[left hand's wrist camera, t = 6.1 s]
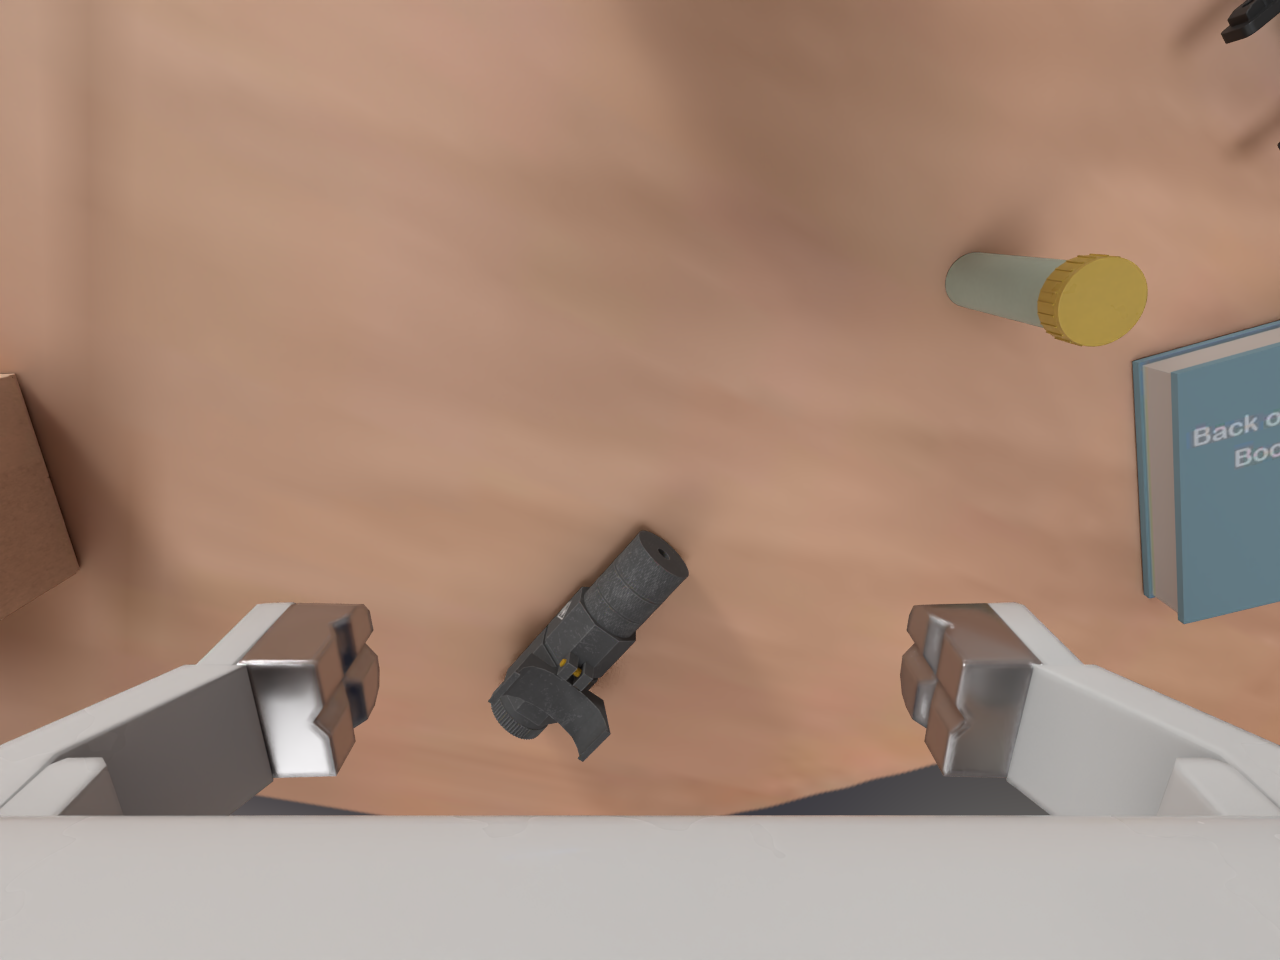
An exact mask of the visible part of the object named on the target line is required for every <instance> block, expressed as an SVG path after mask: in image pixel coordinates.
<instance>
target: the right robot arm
mask: <svg viewBox="0 0 1280 960" xmlns="http://www.w3.org/2000/svg"><path fill="white" fill-rule="evenodd" d="M1279 13H1280V0H1246V1H1245V2H1244V3H1243V4H1241V5H1240V6H1239V7H1238V8H1237V9H1235V10H1234V11H1233V12H1232V14H1231V15H1230V17H1229V18H1228V22H1229V24H1230V26H1228V27H1227V28H1226V29H1225V30H1224V31H1223V32H1222V33H1221V35H1222V37H1223V39H1224V41H1225V43H1226V44H1227V43H1230V42H1234V41H1237V40H1240V39H1244V38H1246V37H1248V36H1250V35H1252V34H1253V33H1255V32H1256V31H1258V30H1259V29H1260V28H1261V27H1263V26H1264V25H1265V24H1266V23H1267V22H1269V21H1270V20H1271V19H1272V18H1274V17H1275V16H1276V15H1277V14H1279ZM1277 146H1278V148H1279V149H1280V142H1279V143H1278V145H1277Z"/></svg>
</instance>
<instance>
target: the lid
mask: <svg viewBox="0 0 1280 960" xmlns="http://www.w3.org/2000/svg"><path fill="white" fill-rule="evenodd" d="M1147 292H1148V289H1147V283H1146V279H1145V277H1144V274H1143V273H1142V271H1141V270H1140V269H1139V267H1138V266H1137V265H1135V264H1134V263H1133V262H1131V261H1129V260H1127V259H1124V258H1121V257H1119V256H1109V255H1102V254H1089V255H1084V256H1083V255H1078V256H1077V257H1075V258H1073V259H1070V260H1066V262H1064V263H1063V264H1061V265H1060V266H1059V267H1057V268H1055V270H1054V271H1053V272H1052V273H1051V274H1050V275H1049V277H1048V278H1046V281H1045V282H1044V284H1043V286H1042V288H1041V289H1040V293H1039V297H1038V301H1037V311H1038V312H1037V314H1038V317H1039V320H1040V322H1041V323H1040V324H1041V325H1042V326H1043V327H1044V329H1045V330H1046V333H1049V334H1051V335H1052V336H1054V337H1055V339H1058V340H1061V341H1065V342H1068V343H1071V344H1075V345H1078V346H1082V345H1083V346H1093V347H1094V346H1101V345H1106V344H1109V343H1111V342H1113V341H1115V340H1117V339H1119V338H1121V337H1122V336H1123V335H1125V334H1126V333H1127V332H1128V331H1129V330H1131V329H1132V327H1133V326H1134V325H1135V324H1136V323H1137V321H1138V320H1139V318H1140V316H1141V315H1142V313H1143V310H1144V308H1145V305H1146V301H1147Z"/></svg>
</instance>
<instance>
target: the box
mask: <svg viewBox="0 0 1280 960" xmlns="http://www.w3.org/2000/svg"><path fill="white" fill-rule="evenodd" d="M48 477H49V474H48V471H47V468H46V465H45V462H44V459H43V456H42V453H41V450H40V447H39V444H38V441H37V438H36V435H35V432H34V429H33V426H32V423H31V420H30V417H29V414H28V411H27V408H26V405H25V402H24V399H23V396H22V393H21V390H20V387H19V384H18V381H17V378H16V375H15V374H0V620H1V619H3V618H5V617H6V616H8V615H9V614H11V613H13V612H14V611H16V610H18V609H19V608H21V607H22V606H24V605H26V604H27V603H29V602H30V601H32V600H34V599H35V598H37V597H38V596H40V595H42V594H43V593H45V592H47V591H48V590H50V589H51V588H53V587H55V586H56V585H58V584H59V583H61V582H63V581H64V580H66V579H67V578H69V577H71V576H72V575H74V574H76V571H78V570H79V569H80V568H79V565H78V562H77V559H76V556H75V553H74V550H73V547H72V544H71V541H70V538H69V535H68V532H67V529H66V526H65V523H64V520H63V517H62V514H61V511H60V508H59V505H58V502H57V499H56V496H55V493H54V490H53V487H52V484H51V481H50V478H48Z"/></svg>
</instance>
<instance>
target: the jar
mask: <svg viewBox="0 0 1280 960" xmlns="http://www.w3.org/2000/svg"><path fill="white" fill-rule="evenodd" d="M1064 262H1066V260H1060V259H1048V258H1037V257H1026V256H1014V255H1003V254H991V253H980V252H974V253H969V254H966V255H964V256H962V257H961V258H959V259H958V260H957V261H956V262H955V263H954V264H953V265H952V266H951V268H950V269H949V271H948V274H947V277H946V282H945V286H946V292H947V295H948V296H949V298H950V299H951V301H952V302H954V303H955V304H957V305H959V306H962V307H965V308H969V309H973V310H977V311H981V312H985V313H988V314H992V315H996V316H1000V317H1004V318H1008V319H1011V320H1015V321H1019V322H1023V323H1027V324H1031V325H1034V326H1038V327H1042V328H1044V327H1043V326H1042V325H1041V324H1040V323H1041V322H1040V320H1039V317H1038V314H1037V312H1038V311H1037V301H1038V297H1039V293H1040V289H1041V288H1042V286H1043V284H1044V282H1045V281H1046V278H1048V277H1049V275H1050V274H1051V273H1052V272H1053V271H1054V270H1055V268H1057V267H1059V266H1060V265H1061V264H1063V263H1064Z"/></svg>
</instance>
